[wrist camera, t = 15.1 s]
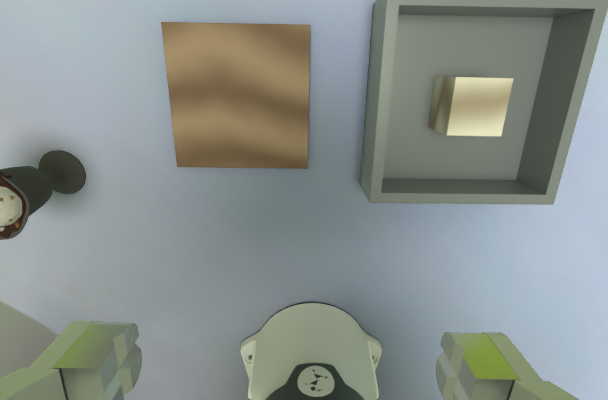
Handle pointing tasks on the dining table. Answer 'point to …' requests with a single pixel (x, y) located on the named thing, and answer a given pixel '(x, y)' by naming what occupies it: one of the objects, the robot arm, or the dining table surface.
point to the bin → (475, 63)
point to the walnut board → (238, 93)
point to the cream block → (469, 105)
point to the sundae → (35, 188)
